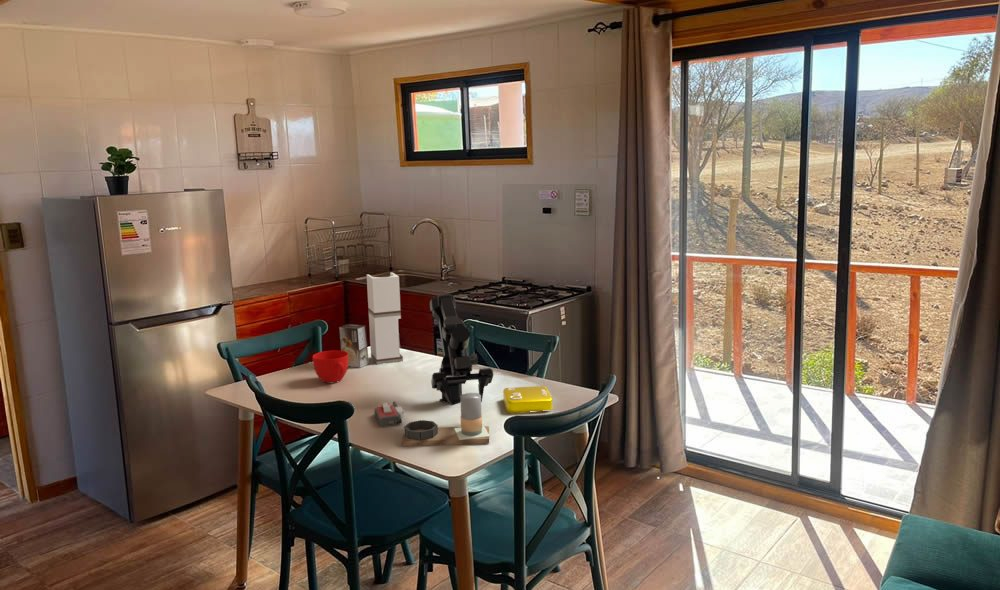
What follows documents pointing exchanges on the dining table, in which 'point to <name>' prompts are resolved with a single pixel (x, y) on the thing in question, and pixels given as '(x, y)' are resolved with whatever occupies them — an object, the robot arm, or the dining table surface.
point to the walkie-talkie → (388, 414)
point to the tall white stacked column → (384, 318)
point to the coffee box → (354, 344)
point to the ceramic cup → (331, 365)
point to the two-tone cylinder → (471, 414)
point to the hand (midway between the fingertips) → (466, 403)
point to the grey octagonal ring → (421, 435)
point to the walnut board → (444, 438)
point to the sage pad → (462, 436)
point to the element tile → (527, 399)
